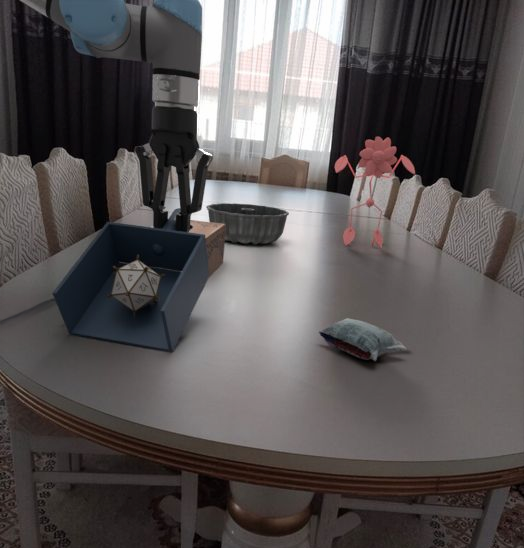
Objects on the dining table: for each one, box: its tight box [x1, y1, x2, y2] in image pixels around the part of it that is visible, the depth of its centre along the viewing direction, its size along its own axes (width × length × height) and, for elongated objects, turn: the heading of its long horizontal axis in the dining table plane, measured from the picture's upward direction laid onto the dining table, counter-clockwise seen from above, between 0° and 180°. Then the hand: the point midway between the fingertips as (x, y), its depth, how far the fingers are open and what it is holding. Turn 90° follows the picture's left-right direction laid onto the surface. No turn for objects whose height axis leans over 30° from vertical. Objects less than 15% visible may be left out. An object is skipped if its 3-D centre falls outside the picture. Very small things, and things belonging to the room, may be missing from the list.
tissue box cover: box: [148, 219, 226, 278], centre depth 123 cm, size 26×14×10 cm, turn 173°
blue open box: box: [52, 207, 210, 353], centre depth 86 cm, size 30×17×8 cm, turn 167°
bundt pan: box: [205, 202, 290, 246], centre depth 167 cm, size 26×26×10 cm
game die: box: [106, 255, 166, 317], centre depth 81 cm, size 9×8×10 cm
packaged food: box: [318, 317, 407, 362], centre depth 84 cm, size 9×12×5 cm
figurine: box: [334, 136, 416, 254], centre depth 168 cm, size 15×26×35 cm, turn 94°
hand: (170, 249), depth 94 cm, fingers closed on blue open box, 3 cm apart
